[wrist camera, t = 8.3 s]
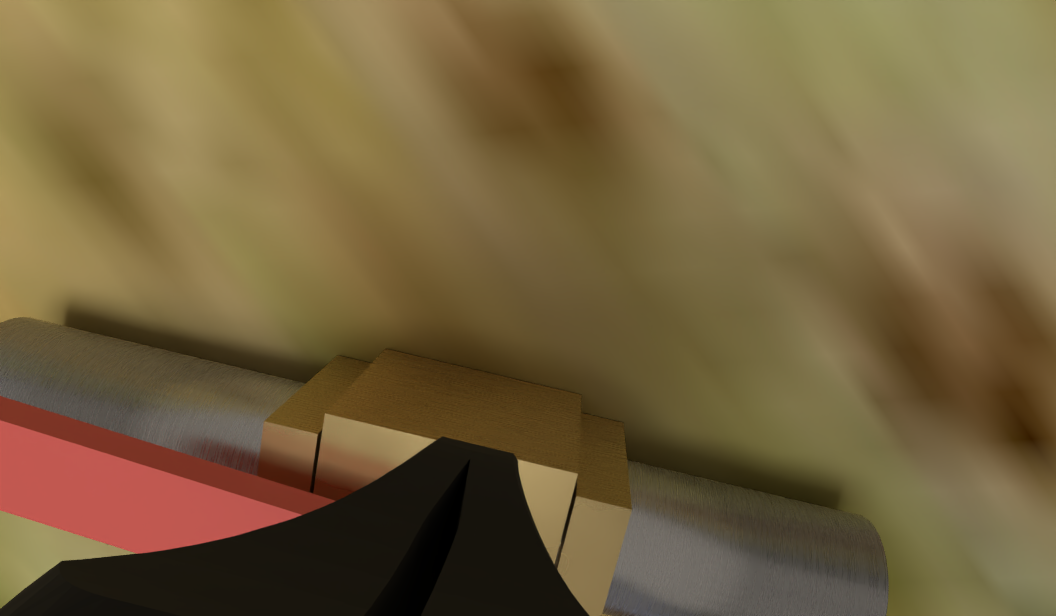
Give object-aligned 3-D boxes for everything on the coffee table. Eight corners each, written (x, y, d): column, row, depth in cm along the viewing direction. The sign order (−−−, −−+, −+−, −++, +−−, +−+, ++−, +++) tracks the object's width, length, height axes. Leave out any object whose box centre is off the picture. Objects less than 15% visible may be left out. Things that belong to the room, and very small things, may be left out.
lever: (510, 531, 17) (505, 556, 16) (472, 650, 18) (465, 680, 17) (-31, 362, 17) (-69, 376, 16) (-41, 488, 18) (-77, 509, 17)
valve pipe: (857, 459, 22) (944, 570, 16) (793, 628, 23) (853, 778, 18) (63, 272, 23) (-104, 318, 17) (56, 448, 24) (-97, 540, 19)
